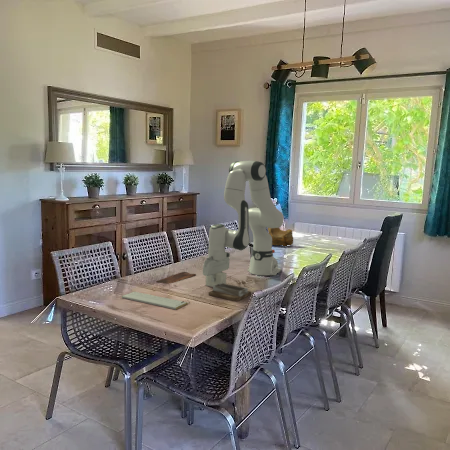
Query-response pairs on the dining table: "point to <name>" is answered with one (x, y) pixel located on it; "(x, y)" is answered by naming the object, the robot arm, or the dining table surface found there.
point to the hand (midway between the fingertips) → (215, 280)
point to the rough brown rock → (281, 236)
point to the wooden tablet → (176, 277)
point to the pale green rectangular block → (219, 279)
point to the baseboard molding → (155, 300)
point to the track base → (229, 292)
